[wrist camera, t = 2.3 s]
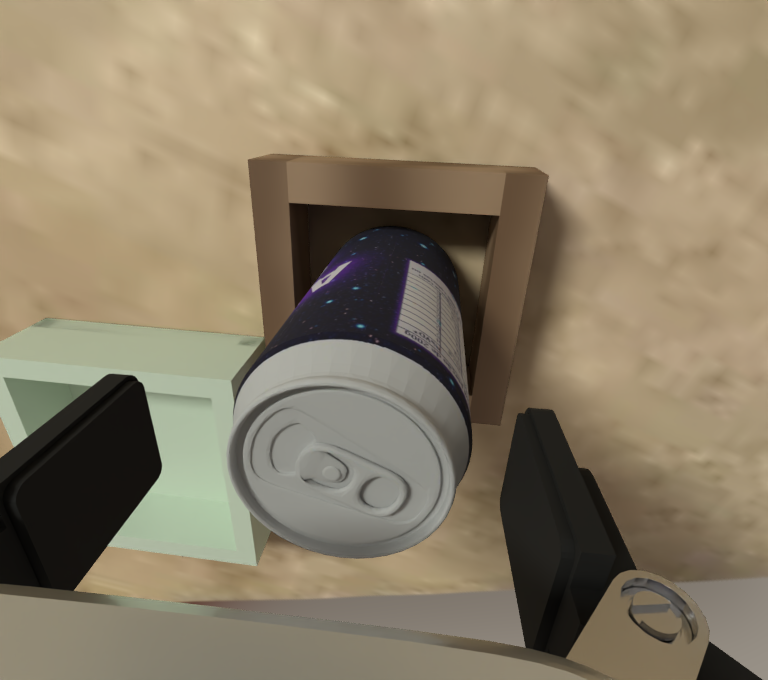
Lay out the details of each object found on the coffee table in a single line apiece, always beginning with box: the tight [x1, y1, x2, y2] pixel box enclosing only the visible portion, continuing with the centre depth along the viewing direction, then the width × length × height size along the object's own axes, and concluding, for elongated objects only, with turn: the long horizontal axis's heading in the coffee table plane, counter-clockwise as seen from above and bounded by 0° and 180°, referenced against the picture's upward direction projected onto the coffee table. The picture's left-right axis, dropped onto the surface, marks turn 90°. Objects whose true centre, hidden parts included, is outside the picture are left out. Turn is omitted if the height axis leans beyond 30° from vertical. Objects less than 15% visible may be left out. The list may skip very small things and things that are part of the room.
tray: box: [0, 318, 271, 566], centre depth 23 cm, size 12×12×4 cm
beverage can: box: [226, 226, 472, 559], centre depth 15 cm, size 6×6×12 cm
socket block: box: [248, 154, 549, 425], centre depth 19 cm, size 10×10×2 cm
